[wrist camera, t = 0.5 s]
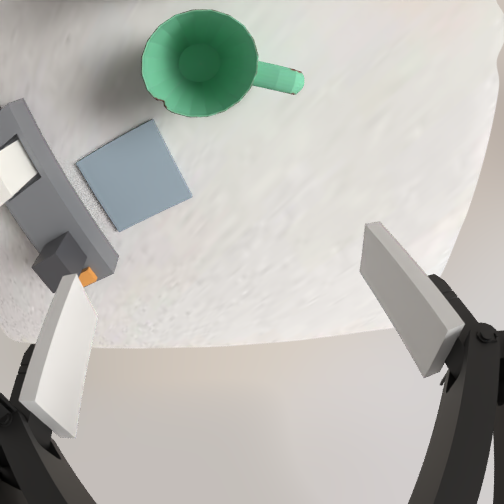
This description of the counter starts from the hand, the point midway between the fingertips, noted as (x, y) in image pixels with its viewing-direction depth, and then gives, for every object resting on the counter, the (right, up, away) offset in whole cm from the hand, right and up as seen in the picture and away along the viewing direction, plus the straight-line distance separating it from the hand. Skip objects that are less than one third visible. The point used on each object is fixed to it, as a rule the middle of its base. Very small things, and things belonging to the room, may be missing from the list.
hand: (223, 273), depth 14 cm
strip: (-27, +12, +20) cm, 36 cm away
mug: (-2, +22, +18) cm, 28 cm away
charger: (-28, +12, +17) cm, 35 cm away
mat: (-13, +10, +24) cm, 29 cm away
